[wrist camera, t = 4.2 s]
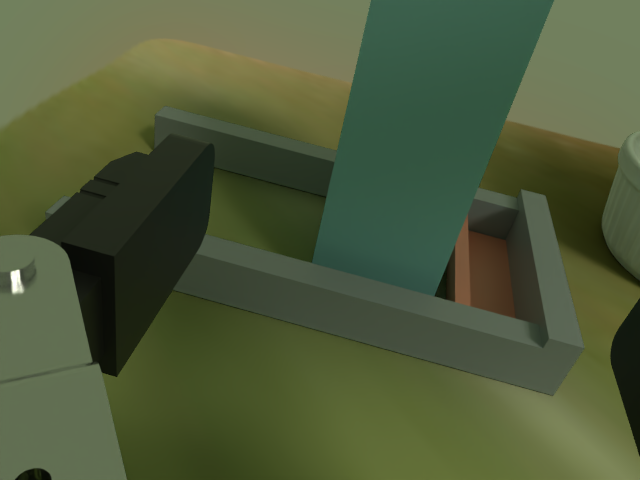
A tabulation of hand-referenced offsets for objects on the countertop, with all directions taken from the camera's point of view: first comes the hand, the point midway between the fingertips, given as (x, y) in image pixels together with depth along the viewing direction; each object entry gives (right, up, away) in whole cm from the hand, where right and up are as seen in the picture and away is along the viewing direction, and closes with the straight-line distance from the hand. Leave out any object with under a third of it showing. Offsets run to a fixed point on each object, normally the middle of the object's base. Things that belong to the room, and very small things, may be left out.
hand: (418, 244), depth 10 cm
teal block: (+1, -1, +15) cm, 15 cm away
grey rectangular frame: (-2, 0, +15) cm, 15 cm away
